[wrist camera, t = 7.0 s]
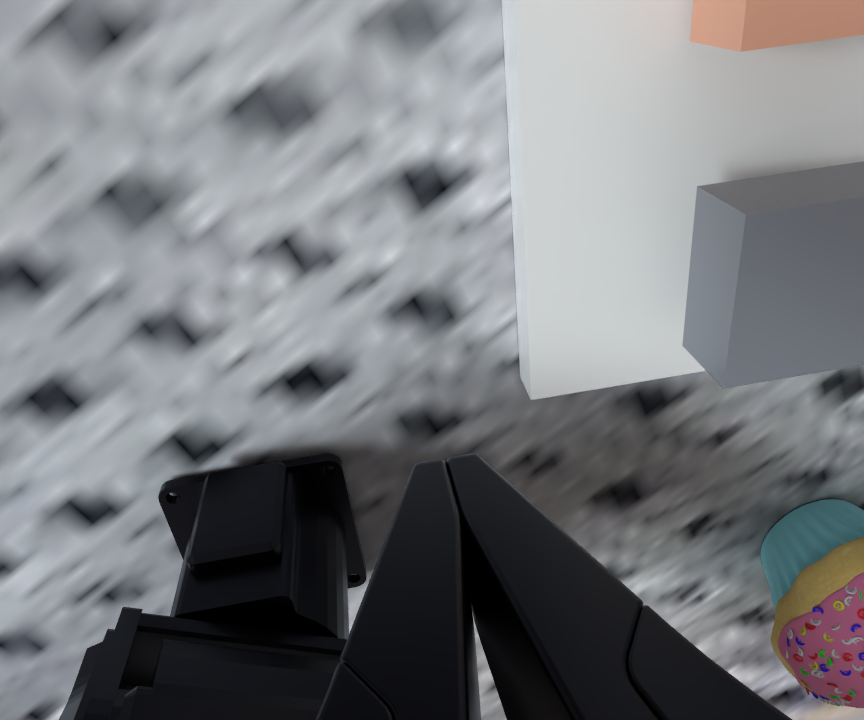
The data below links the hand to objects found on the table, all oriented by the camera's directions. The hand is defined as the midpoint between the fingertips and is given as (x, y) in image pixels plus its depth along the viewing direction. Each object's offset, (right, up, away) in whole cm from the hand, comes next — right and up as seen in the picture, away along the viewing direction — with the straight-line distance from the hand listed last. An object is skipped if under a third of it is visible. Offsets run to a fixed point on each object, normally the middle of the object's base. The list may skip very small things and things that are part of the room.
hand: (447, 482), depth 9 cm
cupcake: (+17, -6, +22) cm, 28 cm away
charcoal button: (+10, +5, +11) cm, 15 cm away
